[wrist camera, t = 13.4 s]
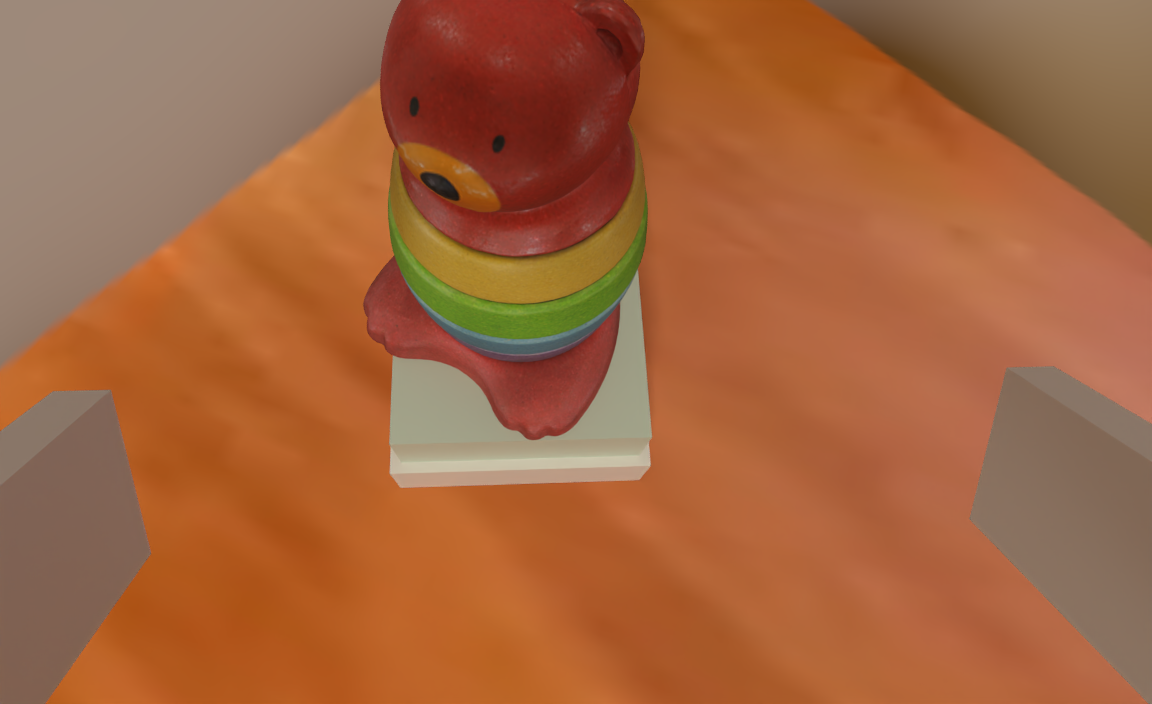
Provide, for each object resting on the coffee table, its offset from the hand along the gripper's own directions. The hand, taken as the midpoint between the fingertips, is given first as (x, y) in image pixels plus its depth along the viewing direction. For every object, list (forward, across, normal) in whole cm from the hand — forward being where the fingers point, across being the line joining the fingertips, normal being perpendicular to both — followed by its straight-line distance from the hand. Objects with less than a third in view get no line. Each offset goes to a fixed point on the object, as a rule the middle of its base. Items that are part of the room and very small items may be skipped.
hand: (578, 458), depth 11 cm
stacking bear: (+22, -1, -5) cm, 23 cm away
